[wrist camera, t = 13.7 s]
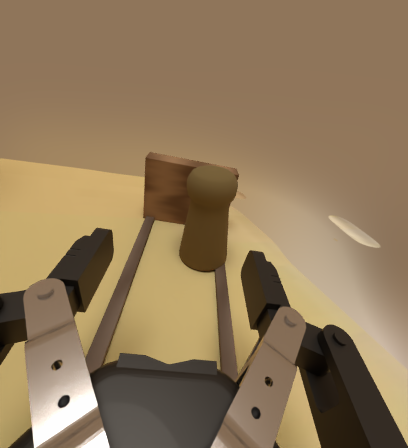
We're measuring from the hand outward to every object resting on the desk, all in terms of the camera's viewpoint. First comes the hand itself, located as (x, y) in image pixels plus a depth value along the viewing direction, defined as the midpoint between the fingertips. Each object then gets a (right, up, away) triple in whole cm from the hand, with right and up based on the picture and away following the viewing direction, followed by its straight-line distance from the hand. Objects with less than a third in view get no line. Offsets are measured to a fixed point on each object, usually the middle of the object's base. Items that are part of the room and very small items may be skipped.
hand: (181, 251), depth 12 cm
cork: (+1, -2, +14) cm, 14 cm away
